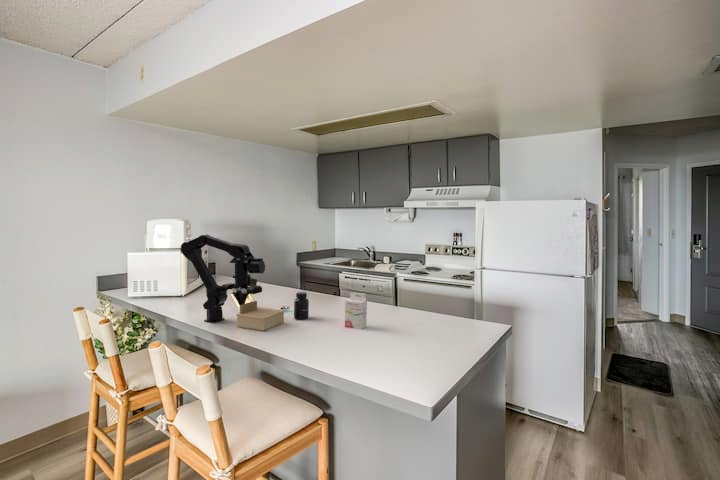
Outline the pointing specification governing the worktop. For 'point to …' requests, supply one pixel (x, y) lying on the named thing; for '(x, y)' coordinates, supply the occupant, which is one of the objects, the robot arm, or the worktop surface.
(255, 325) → the mailer box
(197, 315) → the worktop surface
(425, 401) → the worktop surface
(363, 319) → the ink cartridge box
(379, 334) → the worktop surface
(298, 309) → the supplement bottle
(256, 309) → the lid
